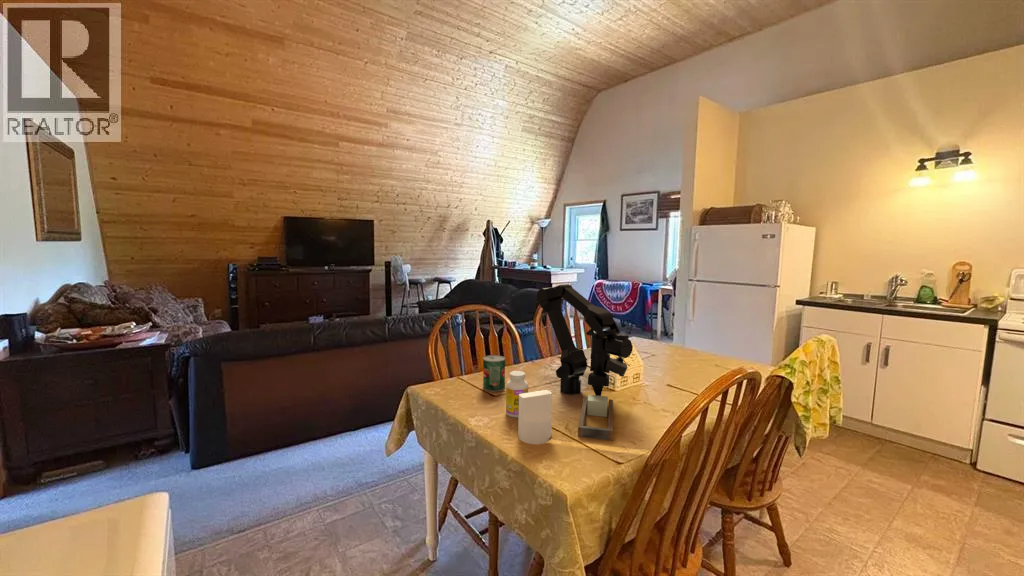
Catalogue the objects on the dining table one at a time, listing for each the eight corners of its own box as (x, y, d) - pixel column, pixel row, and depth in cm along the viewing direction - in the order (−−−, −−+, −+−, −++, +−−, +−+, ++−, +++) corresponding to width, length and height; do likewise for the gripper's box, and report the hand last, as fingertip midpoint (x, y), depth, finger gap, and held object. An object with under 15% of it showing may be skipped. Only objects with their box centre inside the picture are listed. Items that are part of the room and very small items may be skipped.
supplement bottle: (512, 420, 124) (512, 378, 122) (502, 411, 129) (502, 371, 128) (531, 415, 127) (532, 374, 125) (521, 408, 132) (521, 368, 131)
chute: (577, 439, 112) (578, 427, 111) (583, 407, 133) (583, 396, 133) (612, 443, 110) (612, 431, 109) (612, 410, 131) (612, 399, 131)
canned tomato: (509, 389, 149) (509, 359, 148) (490, 393, 145) (490, 362, 144) (497, 382, 156) (497, 353, 155) (479, 386, 151) (479, 357, 150)
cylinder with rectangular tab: (527, 447, 108) (527, 402, 106) (513, 432, 116) (513, 390, 114) (557, 440, 111) (558, 397, 110) (541, 426, 119) (542, 386, 118)
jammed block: (587, 414, 125) (587, 400, 125) (588, 408, 130) (588, 394, 130) (607, 416, 124) (607, 402, 124) (607, 410, 129) (607, 396, 128)
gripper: (627, 360, 122) (625, 412, 124) (625, 345, 140) (623, 390, 142) (588, 358, 124) (587, 408, 126) (591, 343, 142) (590, 387, 144)
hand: (598, 398), depth 135 cm, fingers closed
